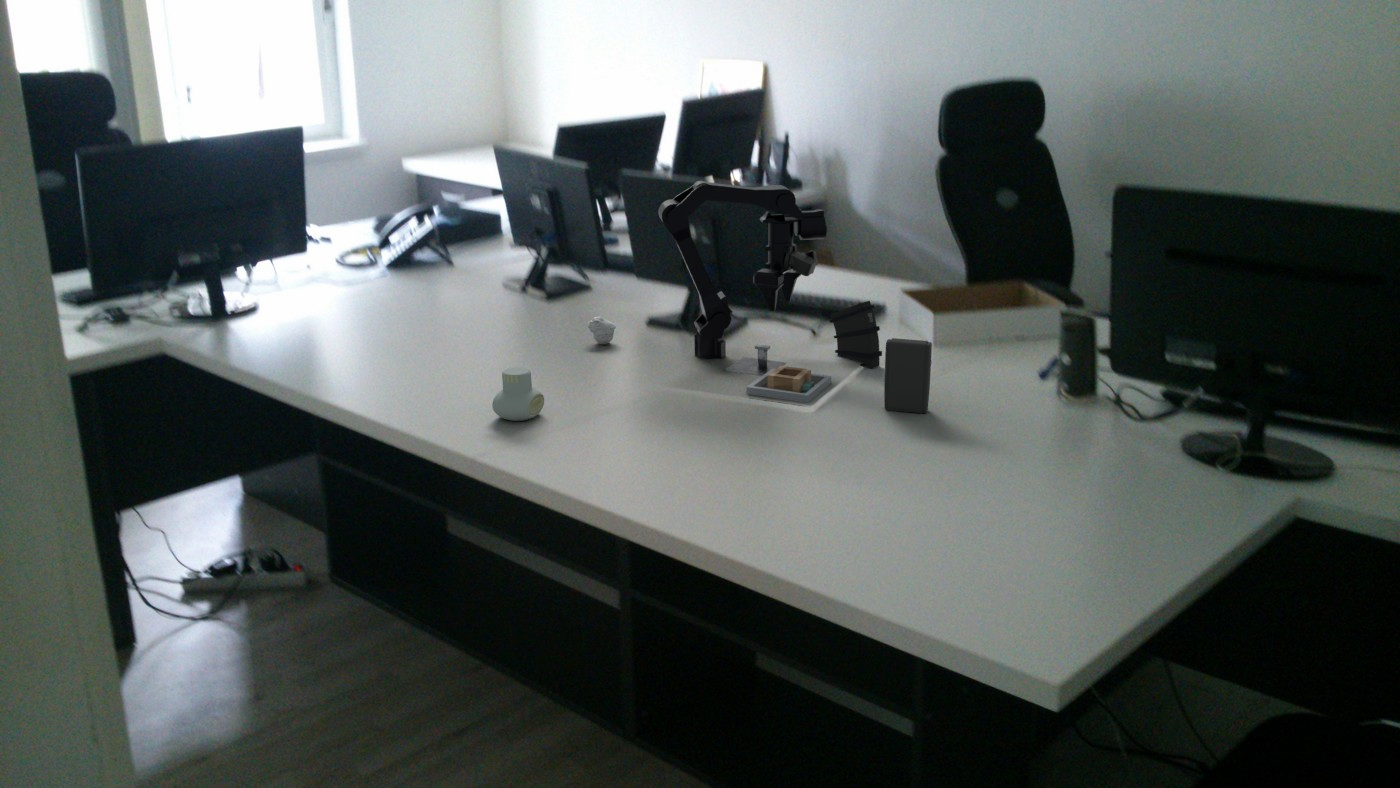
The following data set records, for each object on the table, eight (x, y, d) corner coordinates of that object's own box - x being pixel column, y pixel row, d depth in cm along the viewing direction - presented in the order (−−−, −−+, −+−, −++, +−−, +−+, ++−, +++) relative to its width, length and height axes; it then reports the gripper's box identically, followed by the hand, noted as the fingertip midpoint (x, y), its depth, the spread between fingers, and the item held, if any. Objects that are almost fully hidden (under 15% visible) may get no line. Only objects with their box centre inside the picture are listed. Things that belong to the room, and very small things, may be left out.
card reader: (930, 409, 248) (933, 339, 243) (927, 415, 245) (930, 345, 240) (886, 404, 251) (889, 336, 246) (882, 411, 248) (885, 341, 243)
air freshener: (524, 427, 242) (521, 381, 239) (488, 423, 245) (485, 377, 242) (549, 410, 252) (546, 364, 249) (514, 406, 255) (511, 361, 251)
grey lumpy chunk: (588, 341, 299) (587, 314, 297) (616, 339, 300) (615, 312, 298) (588, 348, 294) (587, 320, 291) (617, 346, 294) (616, 319, 292)
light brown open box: (805, 398, 254) (805, 380, 253) (767, 392, 258) (767, 375, 257) (817, 387, 260) (818, 370, 259) (780, 382, 264) (780, 365, 263)
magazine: (881, 365, 271) (861, 302, 271) (841, 377, 282) (822, 316, 282) (891, 362, 273) (872, 299, 274) (852, 374, 284) (833, 313, 284)
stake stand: (723, 374, 272) (723, 349, 270) (743, 361, 282) (743, 337, 280) (767, 380, 268) (767, 355, 266) (786, 366, 277) (786, 342, 275)
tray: (746, 397, 257) (746, 386, 256) (772, 378, 269) (772, 368, 268) (807, 406, 251) (807, 395, 250) (831, 387, 263) (831, 376, 262)
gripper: (797, 251, 265) (797, 319, 271) (827, 236, 281) (826, 300, 286) (752, 247, 270) (752, 314, 275) (784, 232, 286) (783, 295, 291)
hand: (780, 306), depth 282 cm, fingers open, 9 cm apart
